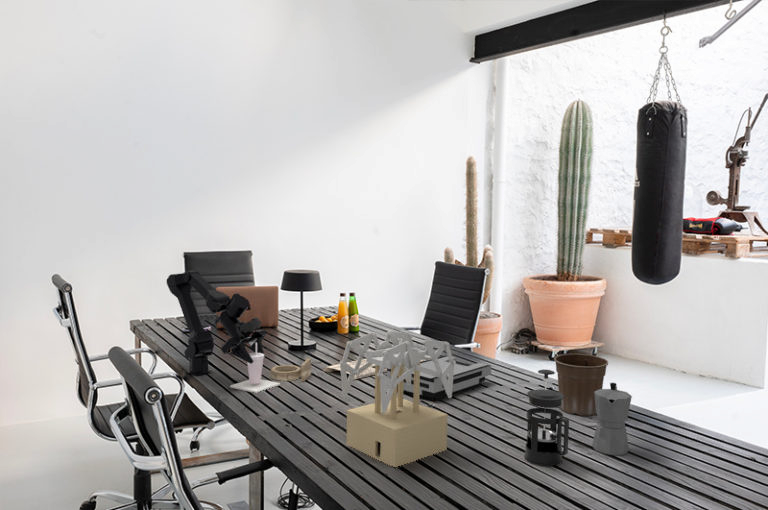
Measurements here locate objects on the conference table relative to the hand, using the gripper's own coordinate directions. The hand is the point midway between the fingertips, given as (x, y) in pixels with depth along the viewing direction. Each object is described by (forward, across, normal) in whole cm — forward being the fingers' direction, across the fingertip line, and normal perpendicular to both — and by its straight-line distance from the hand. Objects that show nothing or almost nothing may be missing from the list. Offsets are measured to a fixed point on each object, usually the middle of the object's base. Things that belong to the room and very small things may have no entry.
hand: (258, 360), depth 229 cm
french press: (+78, -16, -67) cm, 105 cm away
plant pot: (+78, +29, -67) cm, 107 cm away
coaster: (+6, 0, +7) cm, 9 cm away
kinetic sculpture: (+53, -27, -41) cm, 72 cm away
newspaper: (+22, +43, -9) cm, 50 cm away
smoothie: (+5, 0, +6) cm, 8 cm away
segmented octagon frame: (+8, +15, +5) cm, 18 cm away
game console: (+45, +31, -32) cm, 64 cm away
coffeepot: (+88, +1, -77) cm, 117 cm away
